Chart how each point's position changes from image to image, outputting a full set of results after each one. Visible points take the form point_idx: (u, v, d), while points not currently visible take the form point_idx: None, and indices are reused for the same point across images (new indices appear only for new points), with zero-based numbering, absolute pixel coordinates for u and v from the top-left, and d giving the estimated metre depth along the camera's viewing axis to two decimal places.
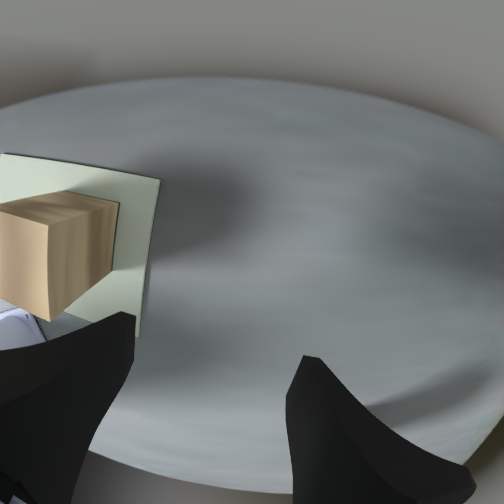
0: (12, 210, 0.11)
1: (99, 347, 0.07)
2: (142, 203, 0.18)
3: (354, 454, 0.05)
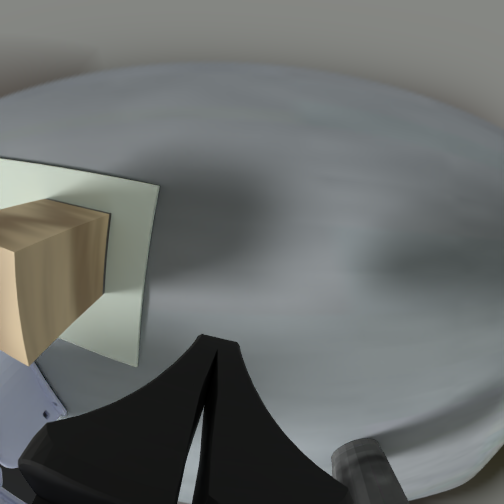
0: None
1: (205, 379, 0.07)
2: (137, 214, 0.15)
3: (211, 441, 0.05)
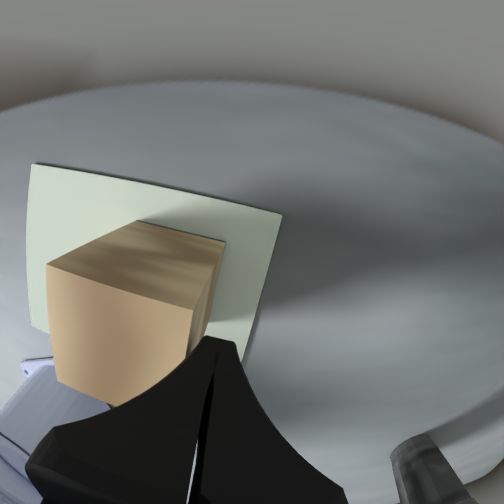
0: (98, 272, 0.08)
1: (210, 380, 0.07)
2: (258, 243, 0.16)
3: (206, 440, 0.05)
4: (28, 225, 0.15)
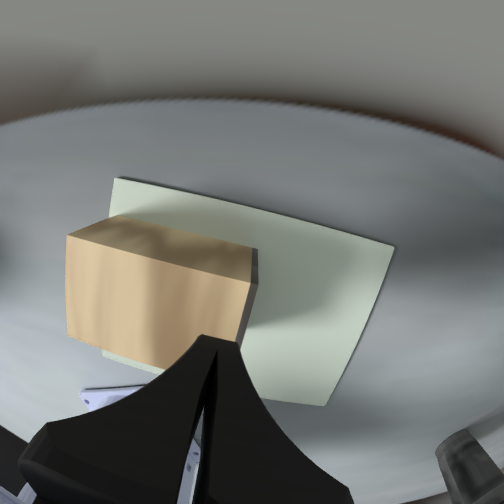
0: (112, 223, 0.14)
1: (205, 379, 0.07)
2: (372, 272, 0.16)
3: (211, 441, 0.05)
4: None
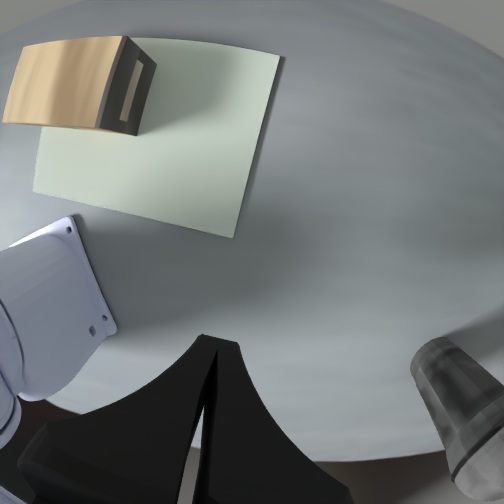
0: None
1: (205, 379, 0.07)
2: (259, 76, 0.16)
3: (211, 441, 0.05)
4: None
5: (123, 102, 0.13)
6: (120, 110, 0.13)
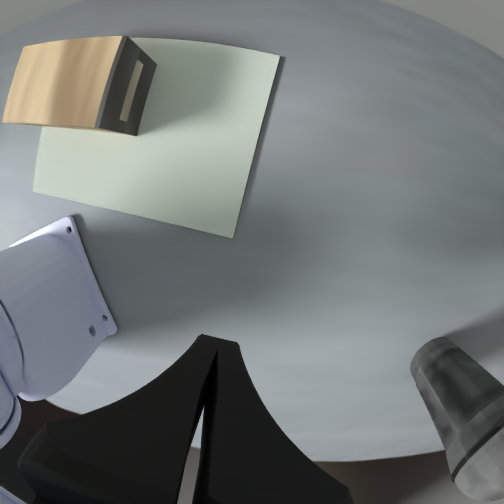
0: None
1: (205, 379, 0.07)
2: (259, 76, 0.16)
3: (211, 441, 0.05)
4: None
5: (123, 102, 0.13)
6: (120, 110, 0.13)
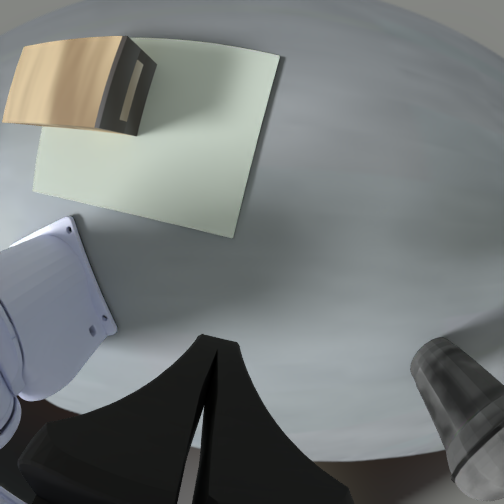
0: None
1: (205, 379, 0.07)
2: (259, 76, 0.16)
3: (211, 441, 0.05)
4: None
5: (123, 102, 0.13)
6: (120, 110, 0.13)
